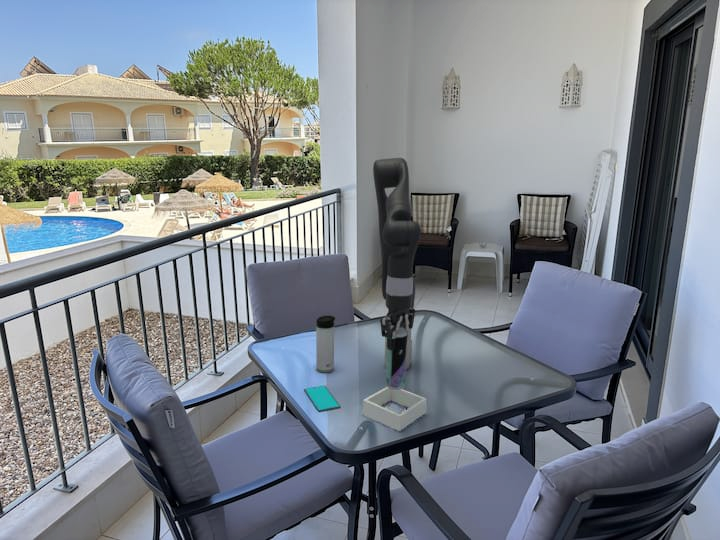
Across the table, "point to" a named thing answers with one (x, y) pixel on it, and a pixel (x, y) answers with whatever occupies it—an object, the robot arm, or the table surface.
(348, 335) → the table surface
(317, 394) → the smartphone
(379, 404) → the white square tray
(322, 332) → the travel mug
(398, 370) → the spray can
